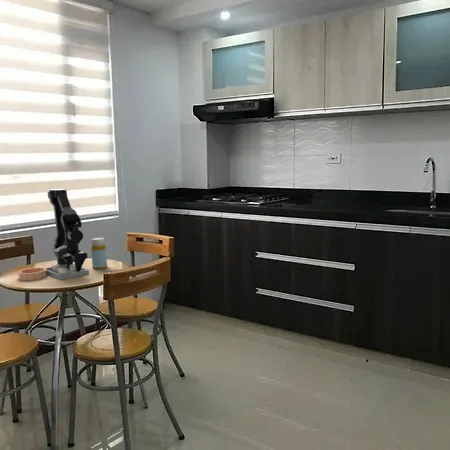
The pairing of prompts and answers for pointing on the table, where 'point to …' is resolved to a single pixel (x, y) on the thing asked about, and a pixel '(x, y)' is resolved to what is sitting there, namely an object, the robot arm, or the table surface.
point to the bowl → (32, 273)
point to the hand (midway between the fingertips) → (74, 271)
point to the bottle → (98, 253)
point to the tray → (68, 275)
